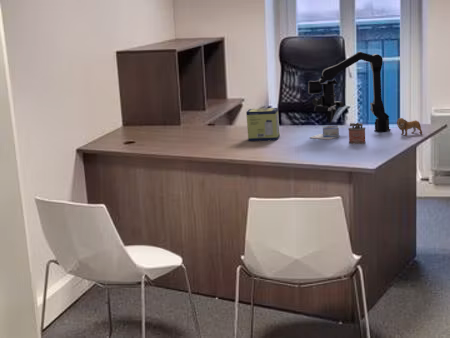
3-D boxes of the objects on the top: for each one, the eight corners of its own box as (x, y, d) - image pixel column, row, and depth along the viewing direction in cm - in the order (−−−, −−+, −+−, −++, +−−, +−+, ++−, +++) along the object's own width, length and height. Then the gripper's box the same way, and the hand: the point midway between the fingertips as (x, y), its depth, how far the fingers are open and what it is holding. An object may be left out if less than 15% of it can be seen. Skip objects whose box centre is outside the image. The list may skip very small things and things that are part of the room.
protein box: (251, 137, 382) (249, 108, 379) (280, 136, 379) (278, 107, 375) (247, 141, 372) (245, 111, 369) (277, 140, 369) (275, 110, 366)
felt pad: (339, 136, 367) (339, 135, 367) (329, 139, 360) (329, 138, 360) (320, 134, 375) (320, 133, 375) (309, 138, 368) (309, 137, 368)
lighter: (366, 142, 347) (365, 122, 344) (365, 144, 343) (364, 123, 341) (349, 142, 349) (348, 122, 347) (348, 144, 346) (347, 123, 344)
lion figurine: (401, 137, 354) (400, 119, 352) (394, 135, 358) (394, 117, 356) (425, 133, 359) (425, 115, 357) (418, 131, 364) (418, 114, 362)
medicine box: (337, 125, 371) (338, 127, 363) (338, 133, 372) (339, 136, 364) (322, 126, 372) (323, 128, 364) (322, 134, 373) (323, 137, 365)
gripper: (325, 90, 382) (326, 119, 386) (305, 95, 369) (306, 125, 372) (343, 90, 375) (344, 120, 378) (323, 95, 361) (324, 126, 365)
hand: (329, 122), depth 374 cm, fingers closed
